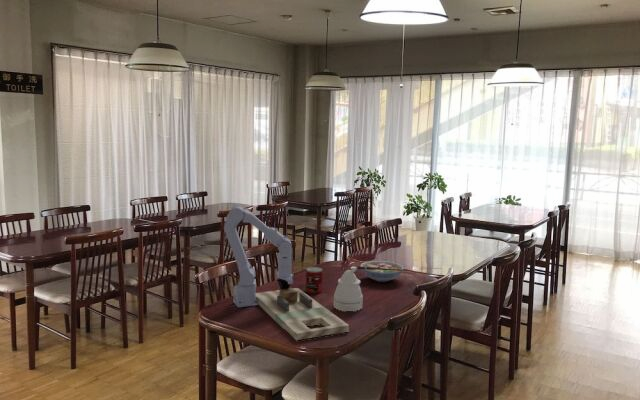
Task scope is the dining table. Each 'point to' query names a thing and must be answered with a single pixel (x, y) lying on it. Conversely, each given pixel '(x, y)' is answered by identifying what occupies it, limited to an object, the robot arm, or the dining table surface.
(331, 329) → the board
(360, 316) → the dining table surface
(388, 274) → the ramen bowl
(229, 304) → the dining table surface
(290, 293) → the walnut block
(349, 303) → the white santa figurine
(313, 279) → the canned food
